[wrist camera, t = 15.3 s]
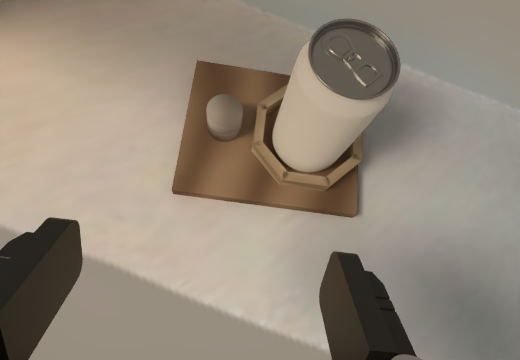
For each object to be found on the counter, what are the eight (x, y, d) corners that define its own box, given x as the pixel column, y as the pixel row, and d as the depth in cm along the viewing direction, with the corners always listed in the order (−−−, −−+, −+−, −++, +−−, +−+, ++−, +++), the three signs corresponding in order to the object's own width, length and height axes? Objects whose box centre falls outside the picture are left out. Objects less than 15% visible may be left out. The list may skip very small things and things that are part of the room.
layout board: (173, 193, 30) (166, 178, 26) (197, 68, 34) (195, 38, 30) (351, 217, 31) (371, 206, 27) (354, 93, 35) (371, 68, 31)
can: (306, 97, 33) (352, -4, 22) (354, 145, 32) (428, 65, 21) (256, 136, 31) (278, 47, 20) (305, 188, 30) (357, 126, 19)
